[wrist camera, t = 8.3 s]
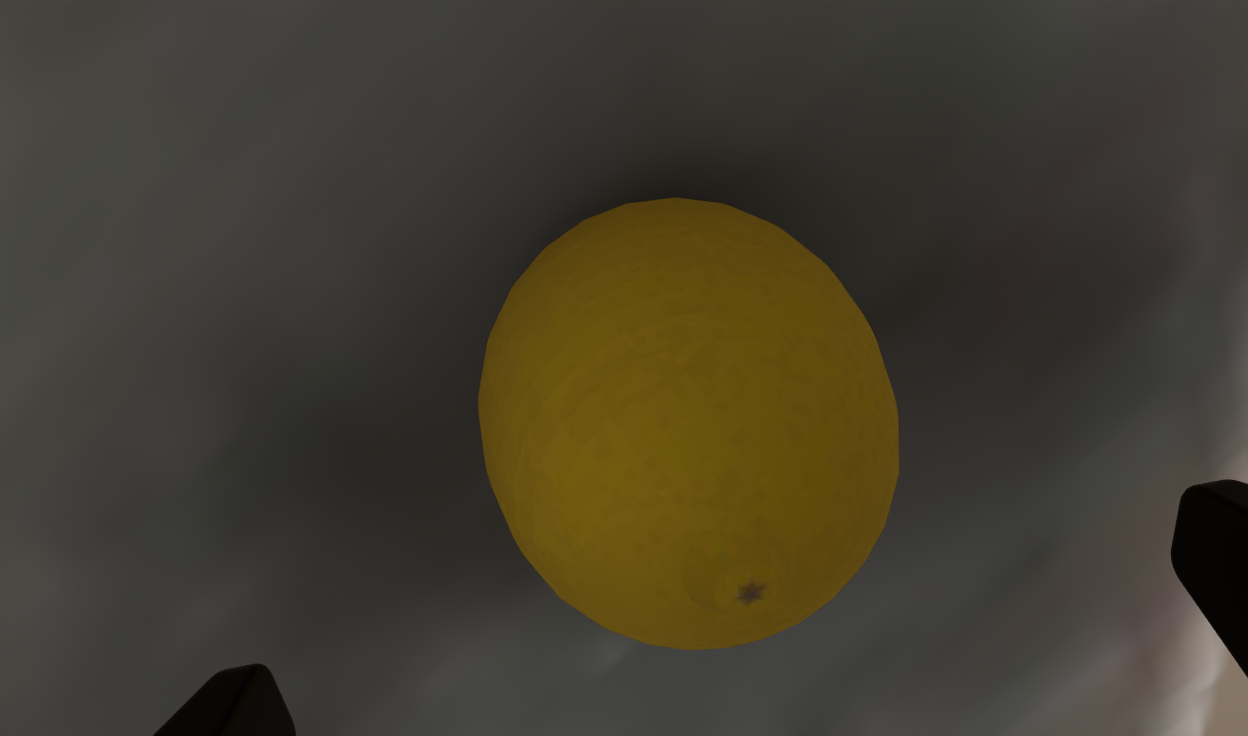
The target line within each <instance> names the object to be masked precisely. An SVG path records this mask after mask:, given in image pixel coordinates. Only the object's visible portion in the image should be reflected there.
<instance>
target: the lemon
mask: <svg viewBox="0 0 1248 736" xmlns="http://www.w3.org/2000/svg"><path fill="white" fill-rule="evenodd" d="M478 411H479V420H480V428H481V436H482V444H483V452H484V459H485V464H486V470H487V474H488V477H489V480H490V484H491V486H492V489H493V491H494V494H495V496H496V498H497V501H498V503H499V505H500V508H501V510H502V512H503V514H504V517H505V519H506V521H507V524H508V526H509V528H510V531H511V533H512V535H513V537H514V540H515V541H516V543H517V545H518V547H519V548H520V550H521V552H522V554H523V555H524V556H525V557H526V559H527V560H528V561H529V562H530V563H531V564H532V566H533V567H534V568H535V569H536V570H537V572H538V573H539V574H540V575H541V576H542V577H543V579H544V580H545V581H546V582H547V583H548V585H549V586H550V587H551V588H552V589H553V590H554V592H555V593H556V594H557V595H558V596H559V598H561V599H562V600H564V601H565V602H567V603H568V604H570V605H571V606H573V607H574V608H576V609H577V610H578V611H580V612H581V613H583V614H584V615H586V616H587V617H589V618H590V619H592V620H593V621H595V622H596V623H598V624H599V625H601V626H602V627H604V628H605V629H607V630H610V631H613V632H615V633H618V634H621V635H624V636H626V637H629V638H632V639H634V640H637V641H640V642H642V643H646V644H651V645H656V646H663V647H670V648H678V649H685V650H703V649H718V648H730V647H734V646H738V645H742V644H746V643H749V642H753V641H757V640H761V639H765V638H768V637H770V636H772V635H774V634H776V633H778V632H781V631H783V630H785V629H787V628H789V627H791V626H794V625H796V624H798V623H800V622H802V621H803V620H805V619H806V618H807V617H809V616H810V615H811V614H813V613H814V612H816V611H817V610H818V609H820V608H821V607H822V606H824V605H825V604H826V603H828V602H829V601H831V600H832V599H833V598H834V597H835V596H836V595H837V593H838V592H839V591H840V590H841V589H842V588H843V587H844V586H845V585H846V584H847V583H848V581H849V580H850V579H851V578H852V577H853V576H854V575H855V574H856V573H857V572H858V570H859V569H860V568H861V566H862V565H863V564H864V562H865V561H866V559H867V557H868V556H869V554H870V552H871V550H872V549H873V547H874V545H875V543H876V541H877V540H878V538H879V536H880V534H881V533H882V531H883V529H884V527H885V524H886V520H887V517H888V513H889V510H890V506H891V502H892V498H893V495H894V491H895V487H896V483H897V480H898V476H899V423H898V411H897V405H896V400H895V396H894V393H893V390H892V387H891V384H890V381H889V377H888V374H887V371H886V368H885V365H884V362H883V358H882V355H881V352H880V349H879V346H878V343H877V340H876V338H875V336H874V333H873V331H872V329H871V327H870V325H869V323H868V322H867V320H866V318H865V317H864V315H863V313H862V312H861V311H860V309H859V308H858V306H857V305H856V304H855V302H854V301H853V299H852V298H851V296H850V295H849V294H848V292H847V291H846V289H845V288H844V287H843V285H842V284H841V282H840V281H839V279H838V278H837V277H836V275H835V274H834V273H833V272H832V270H831V269H830V268H829V267H828V266H827V265H826V264H825V263H824V262H823V261H821V260H820V259H819V258H818V257H817V256H815V255H814V254H813V253H812V252H810V251H809V250H808V249H807V248H805V247H804V246H803V245H801V244H800V243H799V242H798V241H796V240H795V239H794V238H793V237H791V236H790V235H789V234H788V233H786V232H785V231H784V230H782V229H781V228H779V227H778V226H776V225H774V224H772V223H770V222H767V221H765V220H763V219H760V218H758V217H755V216H753V215H751V214H748V213H746V212H743V211H741V210H739V209H736V208H734V207H732V206H729V205H726V204H722V203H715V202H708V201H700V200H692V199H684V198H676V197H675V198H666V199H658V200H650V201H642V202H635V203H627V204H624V205H621V206H619V207H616V208H613V209H611V210H608V211H606V212H603V213H600V214H598V215H595V216H593V217H590V218H587V219H585V220H583V221H582V222H580V223H579V224H578V225H576V226H575V227H573V228H572V229H571V230H569V231H568V232H566V233H565V234H564V235H562V236H561V237H559V238H558V239H557V240H555V241H554V242H552V243H551V244H549V245H548V246H547V247H545V248H544V249H543V250H542V252H541V253H540V254H539V255H538V256H537V257H536V259H535V260H534V261H533V262H532V263H531V265H530V266H529V267H528V268H527V269H526V271H525V272H524V273H523V274H522V275H521V276H520V278H519V279H518V280H517V281H516V282H515V284H514V285H513V287H512V289H511V290H510V292H509V294H508V296H507V299H506V301H505V303H504V305H503V307H502V309H501V311H500V313H499V315H498V317H497V320H496V322H495V324H494V326H493V328H492V330H491V332H490V335H489V338H488V341H487V347H486V353H485V359H484V365H483V371H482V377H481V383H480V389H479V396H478Z"/></svg>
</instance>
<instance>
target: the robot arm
mask: <svg viewBox="0 0 1248 736" xmlns="http://www.w3.org/2000/svg"><path fill="white" fill-rule="evenodd" d="M1171 561H1172V564H1173V568H1174V570H1175V572H1176V575H1177V576H1178V578H1179V580H1180V581H1181V583H1182V584H1183V586H1184V587H1185V589H1186V590H1187V591H1188V593H1189V594H1190V596H1191V597H1192V599H1193V600H1194V601H1195V603H1196V604H1197V606H1198V607H1199V609H1200V610H1201V611H1202V613H1203V614H1204V616H1205V617H1206V619H1207V620H1208V622H1209V623H1210V624H1211V626H1212V627H1213V629H1214V630H1215V632H1216V633H1217V634H1218V636H1219V637H1220V639H1221V640H1222V642H1223V643H1224V644H1225V646H1226V647H1227V649H1228V650H1229V652H1230V653H1231V655H1232V656H1233V657H1234V659H1235V660H1236V662H1237V663H1238V664H1239V666H1240V667H1241V669H1242V670H1243V672H1244V673H1245V675H1246V676H1247V677H1248V484H1246V483H1243V482H1240V481H1236V480H1219V481H1214V482H1208V483H1203V484H1198V485H1194V486H1191V487H1189V488H1187V489H1186V491H1185V492H1184V493H1183V495H1182V496H1181V499H1180V504H1179V509H1178V515H1177V520H1176V525H1175V531H1174V536H1173V541H1172V547H1171ZM153 736H296V731H295V726H294V723H293V720H292V718H291V716H290V713H289V711H288V709H287V707H286V704H285V702H284V700H283V698H282V695H281V693H280V691H279V689H278V686H277V684H276V682H275V680H274V677H273V675H272V673H271V672H270V670H269V669H268V668H267V667H266V666H265V665H263V664H251V665H246V666H240V667H235V668H230V669H225V670H222V671H219V672H218V673H216V674H215V675H214V676H213V677H211V678H210V679H209V680H208V681H207V682H206V683H205V684H204V685H203V686H202V687H201V688H200V689H199V690H198V691H197V692H196V693H195V694H194V695H193V696H192V697H191V698H190V699H189V700H188V701H187V702H186V703H185V704H184V705H183V706H182V707H181V708H180V709H179V710H178V711H177V712H176V713H175V714H174V715H173V716H172V717H171V718H170V719H169V720H168V721H167V722H166V723H165V724H164V725H163V726H162V727H161V728H160V729H159V730H158V731H157V732H156V733H155V734H154V735H153Z"/></svg>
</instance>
